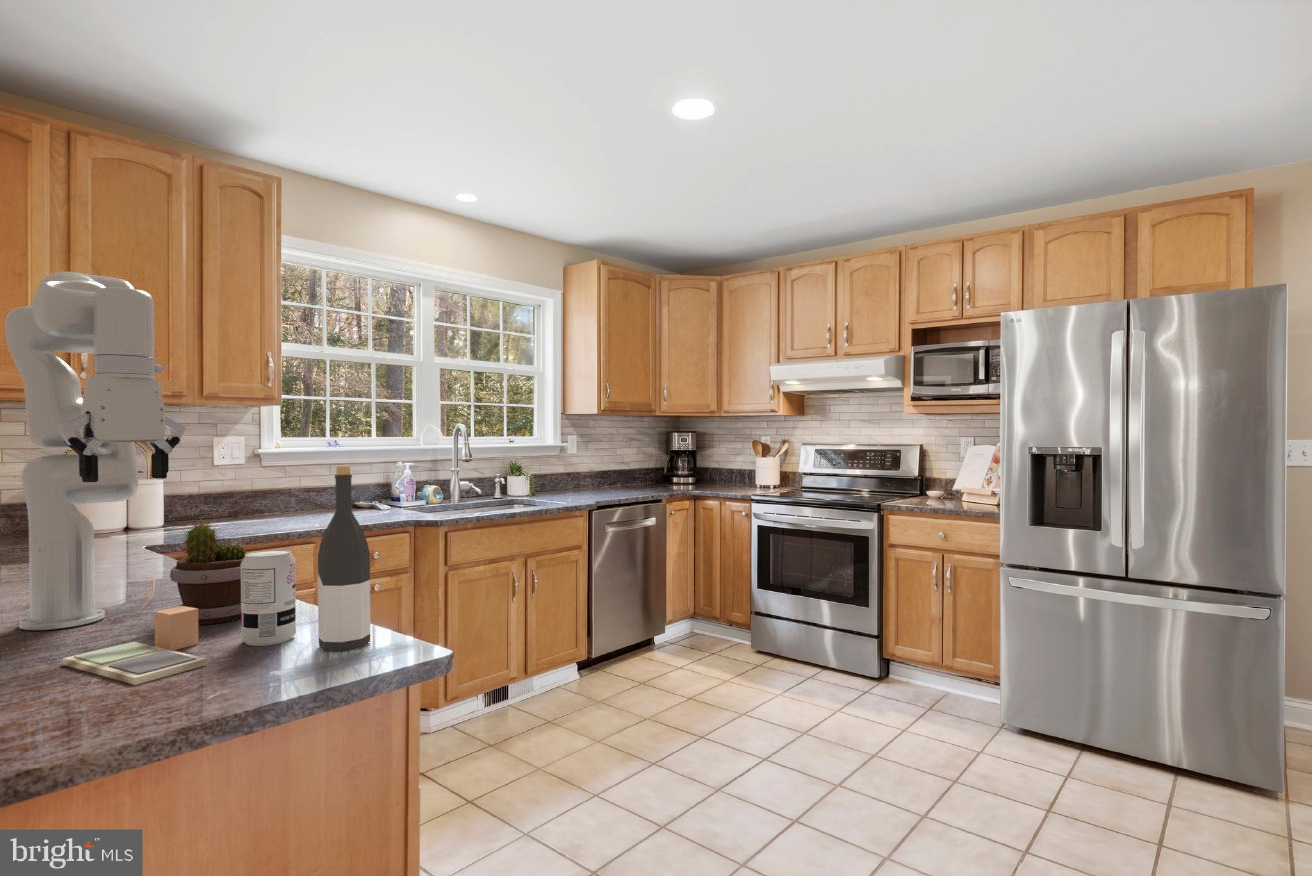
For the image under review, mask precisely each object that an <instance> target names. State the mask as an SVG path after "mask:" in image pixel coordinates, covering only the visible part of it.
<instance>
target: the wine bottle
mask: <svg viewBox="0 0 1312 876" xmlns="http://www.w3.org/2000/svg"><path fill="white" fill-rule="evenodd" d="M352 475H353V474H351V466H350V465H337V466H336V474H334V480H335V512H334V514H333V516H332V518H331V520H330V522H329V523H328V525H327V527H326V529H325V530H324V533H323V536H322V539H321V541H320V544H319V548H318V551H317V603H318V604H317V609H318V611H317V612H318V613H317V614H318V615H317V618H318V619H317V620H318V622H317V625H318V633H317V635H318V639H317V640H318V647H319V648H320V649H321V650H322V649H323V651H324V652H347V651H351V649H353V650H357V649H362V648H363V647H365V646H367V645H369V644H368V642H370V643H371V552H370V549H369V544H368V540H367V538H366V536H365V533H364V530H363V528H362V526H361V524H360V523H359V522H358V519H357V518H356V516H355V514H354V512H353V510H352V509H353V508H352V507H353V506H352V505H353V504H352V478H353V476H352ZM366 644H367V645H366ZM364 645H365V646H364ZM361 647H362V648H361Z"/></svg>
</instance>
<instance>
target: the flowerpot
mask: <svg viewBox="0 0 1312 876" xmlns="http://www.w3.org/2000/svg"><path fill="white" fill-rule="evenodd" d="M193 520H194V522H192V523H193V524H191V529H189V527H187V530H185V531H184V534H183V537H184V538H185V539H184V538H182V544H183V547H184V548H183V550H181V552H182V553H183V555H184V557H181V558H180V559H177V561H176V565H175V566H173V567H172V568H171V569H170V573H169V578H170V580H171V581H172V582H174V583H176V584H177V589H178V594H179V596H180V599H181V602H182V604H180V605H179V606H178V607H180V606H186V607H192V608H197V609H198V625H215V624H216V625H217V624H222V623H228V622H233V621H237V620H238V619H241V563H242V561H243V559H244V557H245V554H247V553H248V552H246V551H245V543H242V545H243V547H242V545H241V544H238V545H237V543H238V542H239V540H237V541H236V542H235V543H234V542H232V543H231V544H230V545H228V542H224V544H221V543H220V541H221V539H220V538H218V535H217V534H220V533H219V531H217V530H218V529H216V527H214V528H212V527H213V525H211V524H210V523H209V520H206V519H205V520H202V519H201V517H200V516H199V520H200V521H199V520H197V519H193ZM216 532H217V533H216ZM219 543H220V544H219ZM225 546H226V547H225Z"/></svg>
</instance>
